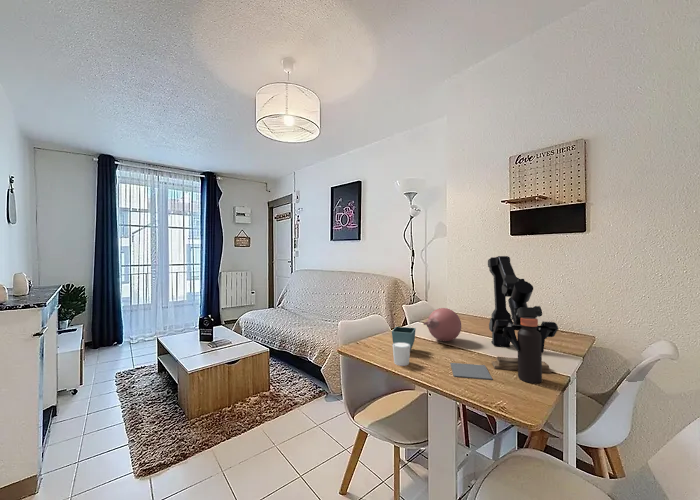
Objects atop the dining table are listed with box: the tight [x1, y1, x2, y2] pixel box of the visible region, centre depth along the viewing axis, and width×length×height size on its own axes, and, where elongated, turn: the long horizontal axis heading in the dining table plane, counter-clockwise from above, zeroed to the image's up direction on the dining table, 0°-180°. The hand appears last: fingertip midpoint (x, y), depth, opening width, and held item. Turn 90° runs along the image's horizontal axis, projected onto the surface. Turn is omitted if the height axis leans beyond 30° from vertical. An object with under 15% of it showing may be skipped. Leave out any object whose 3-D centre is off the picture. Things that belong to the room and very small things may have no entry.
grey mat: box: [450, 362, 493, 381], centre depth 105 cm, size 12×12×1 cm
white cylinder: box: [392, 342, 411, 367], centre depth 114 cm, size 7×7×7 cm
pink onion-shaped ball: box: [422, 307, 462, 342], centre depth 141 cm, size 15×20×15 cm
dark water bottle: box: [516, 317, 543, 384], centre depth 98 cm, size 7×7×20 cm
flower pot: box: [391, 326, 416, 351], centre depth 128 cm, size 9×9×9 cm
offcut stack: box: [491, 356, 552, 374], centre depth 108 cm, size 18×5×3 cm, turn 76°
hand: (530, 351), depth 97 cm, fingers closed on dark water bottle, 7 cm apart
